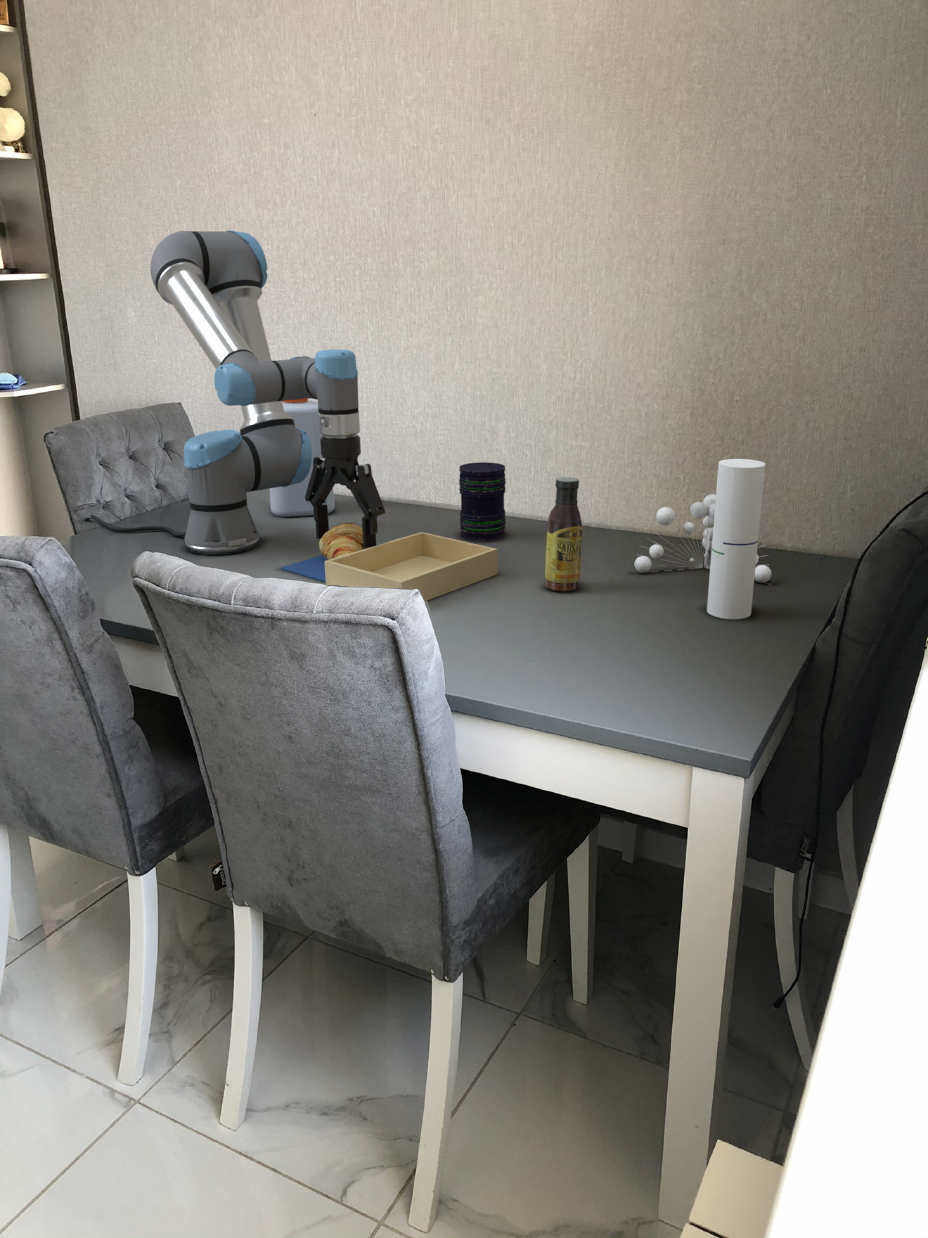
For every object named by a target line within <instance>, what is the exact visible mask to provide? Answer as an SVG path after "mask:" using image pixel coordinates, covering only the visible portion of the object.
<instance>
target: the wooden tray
mask: <svg viewBox="0 0 928 1238" xmlns="http://www.w3.org/2000/svg"><path fill="white" fill-rule="evenodd" d="M497 575H498V548H496V547H495V548H494V547H490V546H486V545H481V544H476V543H473V542H468V541H464V540H459V539H454V538H450V537H446V536H442V535H437V534H432V533H428V532H423V531H420V532H417V533H412V534H411V535H407V536H403V537H400V538H396V539H394V540H390V541H387V542H383V543H380V544H376V546H373V547H370V548H367V549H363V550H360V551H357V552H353V553H350V554H347V555H343V556H340V557H337V558H333V559H330V560H327V561H325V576H326V582H325V586H326V585H339V586H348V587H379V588H401V589H419V590H420V592H421V594H422V596H423V598H424V601H425V602H427V601H430V600H432V599H435V598H438V597H441V596H443V595H445V594H446V595H447V594H449V593H452V592H454V591H456V590H459V589H463V588H465V587H467V586H470V585H472V584H475V583H477V582H480V581H483V580H486V579H488V578H489V579H490V578H492V577H494V576H497Z"/></svg>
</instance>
